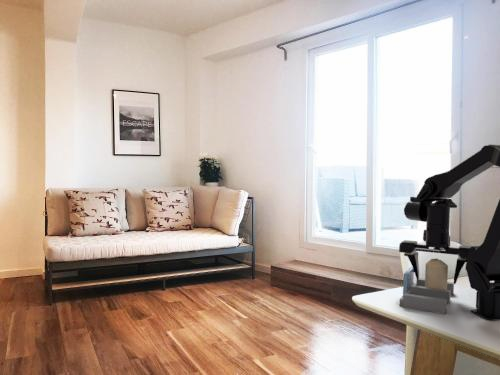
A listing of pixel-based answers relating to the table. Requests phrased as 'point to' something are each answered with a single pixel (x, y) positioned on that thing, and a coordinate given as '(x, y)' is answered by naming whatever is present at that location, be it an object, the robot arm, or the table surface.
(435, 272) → the candle
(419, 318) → the table surface
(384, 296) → the table surface
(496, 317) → the robot arm
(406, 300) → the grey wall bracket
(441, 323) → the table surface
